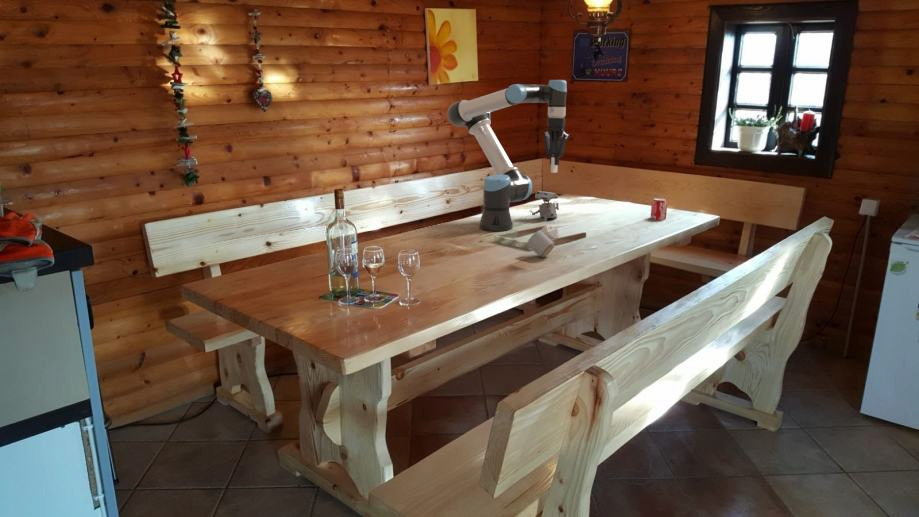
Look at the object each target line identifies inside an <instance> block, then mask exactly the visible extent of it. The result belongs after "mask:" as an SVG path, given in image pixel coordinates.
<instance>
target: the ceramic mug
mask: <svg viewBox="0 0 919 517" xmlns="http://www.w3.org/2000/svg"><path fill="white" fill-rule="evenodd" d="M526 242H527V246H528V247H529V248H530V249H532V250H531V251H533V252H534V253H535V254H536V255H538V257H541V258H545V257H547V256H548V255H549V254H550V253H552V251H553V249H554V247H555V246H554V243H553V242H552V240H551V239H549V238H548V237H547V236H546V235H545V234H544V233H543V232H542V231H540V230H539V231H537V232H536V233H532V234H531V236H530V238H529V239H528V240H527V241H526Z"/></svg>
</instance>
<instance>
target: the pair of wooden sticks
mask: <svg viewBox="0 0 919 517" xmlns="http://www.w3.org/2000/svg"><path fill="white" fill-rule="evenodd" d="M544 226H545V225H542V226H541V225H540V226H537V227H531V228H526V229H522V230H516V231H512V232H507V233H500V234H496V235H493V242H494V243H497V244H503V245H507V246H512V247H517V248H521V249H525V250H528V251H533V250H532V249H530V248H529V247H528V246H527V242H528V241H524V240H519V239H517V238H521V237H525V236H528V235H533V234H534V233H536V232H537V231H539V230H541V229H542V228H543V227H544ZM586 238H587V232H585V231H584V232H580V233H574V234H571V235H570V234H569V235H565V236H561V237H560V236H559V238H556V239H551V240H552V242H553V243H554V247H555V246H559V245H563V244H568V243H572V242H575V241H578V240H582V239H586Z"/></svg>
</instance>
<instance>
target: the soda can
mask: <svg viewBox="0 0 919 517" xmlns="http://www.w3.org/2000/svg"><path fill="white" fill-rule="evenodd" d="M650 207H651V208H650V209H651V210H650V219H651V220H654V221H665V220H667V211H668V202H667V199H666V198H659V197H656V198H655V197H654V198H653V200H652V202H651V206H650Z"/></svg>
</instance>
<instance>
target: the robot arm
mask: <svg viewBox="0 0 919 517" xmlns="http://www.w3.org/2000/svg"><path fill="white" fill-rule="evenodd" d="M567 93H568V88H567V81H566V80H565V79H549V81H548V84H525V83H524V84H521V83H516V84H511V85H509V86H508V88H504V89H500V90H498V91H495V92H492V93H489V94H486V95H483V96H479V97H476V98H473V99H471V100H467V99H462V100H459V101H455V102H453V103H452V104H451V105H450V106H449V107H448V109H447V113H446V114H447V119H448V122H450V124H451V125H453V126H455V127H458V128H463V127H464V128H466V130H467V132H468V133H469V134H470V135H473V136H474V138H475V140H477V142H478V144H479V146H480V148H481V149H482V151H483V153H484V154H485V157H486V158H487V160H488V162H489V164H490V165H491V167H492V169H493V170H494V172H495V174H492V175H489V176H487V177H485V178H484V181H483V188H482V189H483V210H482V214H481V217H480V220H479V223H478V224H479V226H478V227H479V228H478V229H481V230H483V231H492V232H493V231H494V232H503V231H509V230H512V229H513V227H514V223H513V221H512V217H511V213H510V203H517V202H521V201H523V200H527V199H528V198H529V197H530V196H531V194H532V190H533V182H532V180H531V178H530V177H529V176H528V175H526V174H523V173H522V172H521V170H520V169H519V168H518V167H516V166H514V165H513V163H512V162H511V160H510V158H509V156H508V154H507V153H506V151H505V150H504V147H503V145H502V144H501V143H500V141H499V139H498V138H497V135H496V133H495V132H494V130H493V129H492V127H491V122H492V121H491V113H492V112H495V111H498V110H502V109H505V108H507V107H512V106H515V105H519V104H524V103H526V104H527V103H529V104H530V103H533V104H535V103H536V104H537V103H540V104H541V103H546V104H547V119H546V120H547V122H546V124H547V131H546V132H543V133H542V136H543V139H544V146H545V152H546V156H548V157H549V158H550V159H549V164H550V173H552V174H553V173H558V171H559V170H558V166H559V165H560V158H561V157H563V156H564V155H565V149H566V145H567V141H568V139H569V137H570V134H568V133H566V132H565V126H566V118H565V117H566V116H567V115H566V112H567V111H566V110H567V107H566V106H567V105H566V102H567Z"/></svg>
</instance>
